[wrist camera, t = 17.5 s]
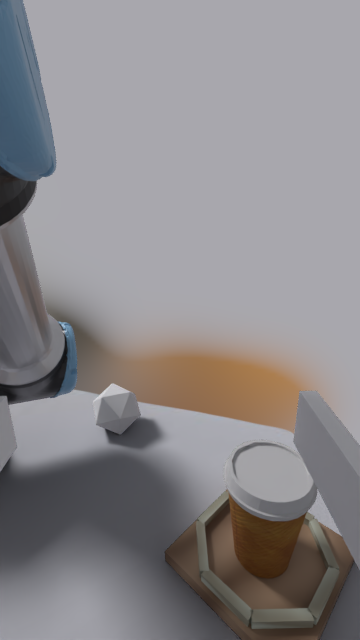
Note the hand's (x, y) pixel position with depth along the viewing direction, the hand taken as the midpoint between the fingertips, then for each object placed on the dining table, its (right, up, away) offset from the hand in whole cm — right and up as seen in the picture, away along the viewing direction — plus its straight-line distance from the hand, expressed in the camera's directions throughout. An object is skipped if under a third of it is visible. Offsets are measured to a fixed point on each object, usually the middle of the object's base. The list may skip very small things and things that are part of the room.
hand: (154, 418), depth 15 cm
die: (-11, -16, +47) cm, 51 cm away
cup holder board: (+11, -24, +23) cm, 35 cm away
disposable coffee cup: (+11, -22, +23) cm, 34 cm away
